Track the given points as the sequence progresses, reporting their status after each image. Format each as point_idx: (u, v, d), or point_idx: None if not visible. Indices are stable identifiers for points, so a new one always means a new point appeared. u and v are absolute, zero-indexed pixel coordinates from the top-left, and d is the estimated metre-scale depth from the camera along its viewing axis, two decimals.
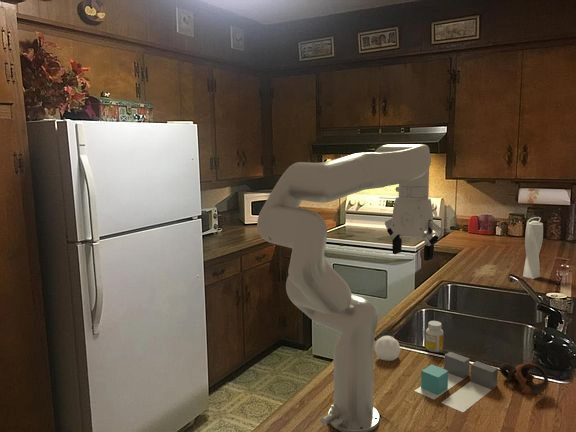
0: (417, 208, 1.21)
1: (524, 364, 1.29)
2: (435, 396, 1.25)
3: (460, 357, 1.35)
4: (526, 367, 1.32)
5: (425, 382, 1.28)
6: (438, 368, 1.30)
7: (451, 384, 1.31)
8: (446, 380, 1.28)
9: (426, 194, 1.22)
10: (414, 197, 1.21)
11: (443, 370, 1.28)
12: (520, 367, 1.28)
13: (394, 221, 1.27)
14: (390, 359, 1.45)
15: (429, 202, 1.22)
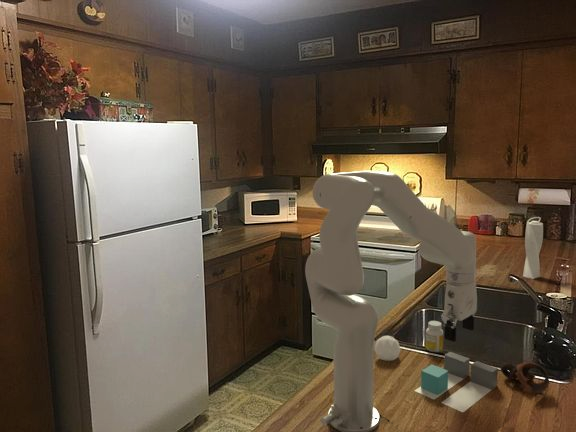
0: (474, 287, 1.32)
1: (525, 363, 1.29)
2: (435, 396, 1.25)
3: (460, 357, 1.35)
4: (527, 366, 1.33)
5: (425, 382, 1.28)
6: (438, 368, 1.30)
7: (451, 384, 1.31)
8: (446, 380, 1.28)
9: None
10: None
11: (443, 370, 1.28)
12: (521, 366, 1.28)
13: (461, 309, 1.29)
14: (390, 359, 1.45)
15: None
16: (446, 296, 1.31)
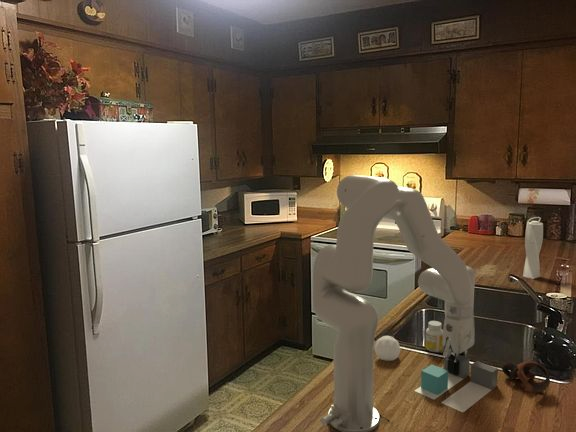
0: (472, 321, 1.34)
1: (526, 362, 1.30)
2: (435, 396, 1.25)
3: (460, 357, 1.35)
4: (528, 365, 1.33)
5: (425, 382, 1.28)
6: (438, 368, 1.30)
7: (451, 384, 1.31)
8: (446, 380, 1.28)
9: None
10: None
11: (443, 370, 1.28)
12: (522, 365, 1.29)
13: (459, 343, 1.30)
14: (390, 359, 1.45)
15: None
16: (444, 329, 1.32)
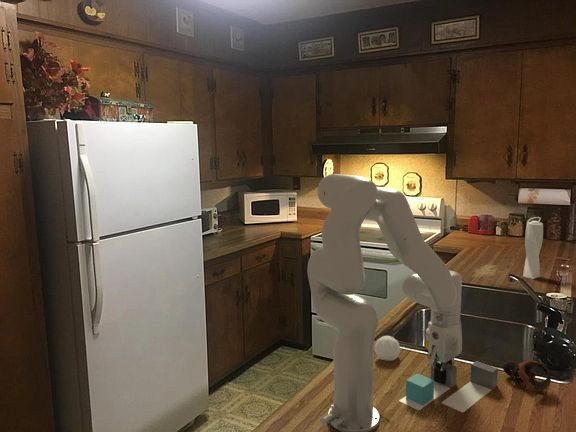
0: (459, 328, 1.29)
1: (527, 362, 1.30)
2: (420, 407, 1.21)
3: (447, 366, 1.31)
4: (528, 365, 1.33)
5: (410, 391, 1.24)
6: (424, 377, 1.25)
7: (437, 394, 1.26)
8: (432, 390, 1.24)
9: None
10: None
11: (429, 379, 1.24)
12: (523, 365, 1.29)
13: (445, 351, 1.26)
14: (390, 359, 1.45)
15: None
16: (430, 337, 1.28)
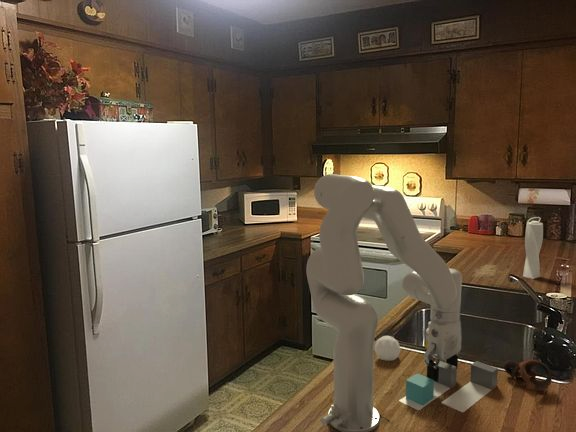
0: (459, 326, 1.29)
1: (528, 361, 1.30)
2: (420, 407, 1.21)
3: (447, 366, 1.31)
4: (529, 364, 1.34)
5: (410, 391, 1.24)
6: (423, 377, 1.25)
7: (437, 394, 1.26)
8: (432, 390, 1.24)
9: None
10: None
11: (429, 379, 1.24)
12: (524, 364, 1.30)
13: (444, 349, 1.25)
14: (390, 359, 1.45)
15: None
16: (429, 334, 1.27)
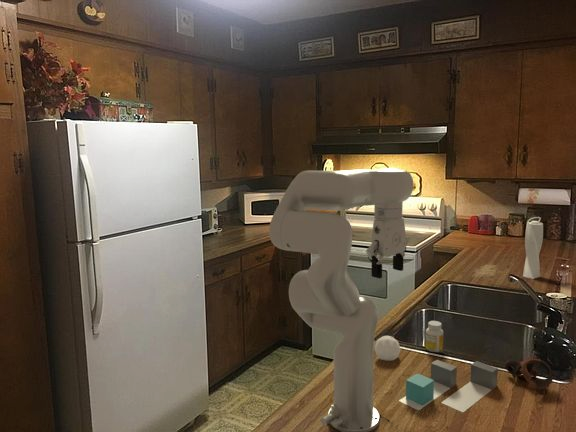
0: (402, 225, 1.32)
1: (529, 360, 1.31)
2: (420, 407, 1.21)
3: (447, 366, 1.31)
4: (530, 363, 1.34)
5: (410, 391, 1.24)
6: (423, 377, 1.25)
7: (437, 394, 1.26)
8: (432, 390, 1.24)
9: None
10: None
11: (429, 379, 1.24)
12: (525, 363, 1.30)
13: (387, 245, 1.28)
14: (390, 359, 1.45)
15: None
16: (373, 232, 1.30)
